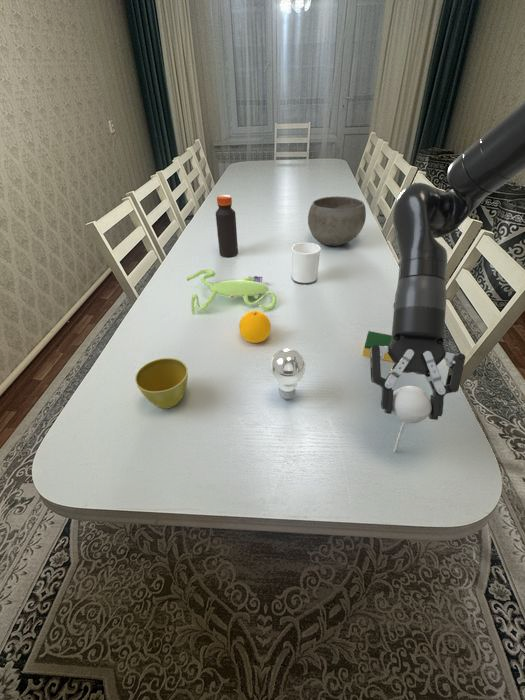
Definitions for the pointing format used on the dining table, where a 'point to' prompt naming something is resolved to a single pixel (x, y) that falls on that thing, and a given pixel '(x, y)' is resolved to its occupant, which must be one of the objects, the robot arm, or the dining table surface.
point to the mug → (305, 262)
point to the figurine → (233, 289)
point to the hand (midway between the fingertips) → (410, 415)
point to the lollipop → (410, 407)
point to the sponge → (377, 343)
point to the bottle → (226, 227)
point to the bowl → (336, 219)
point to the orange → (255, 326)
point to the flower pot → (163, 381)
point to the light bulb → (287, 371)
